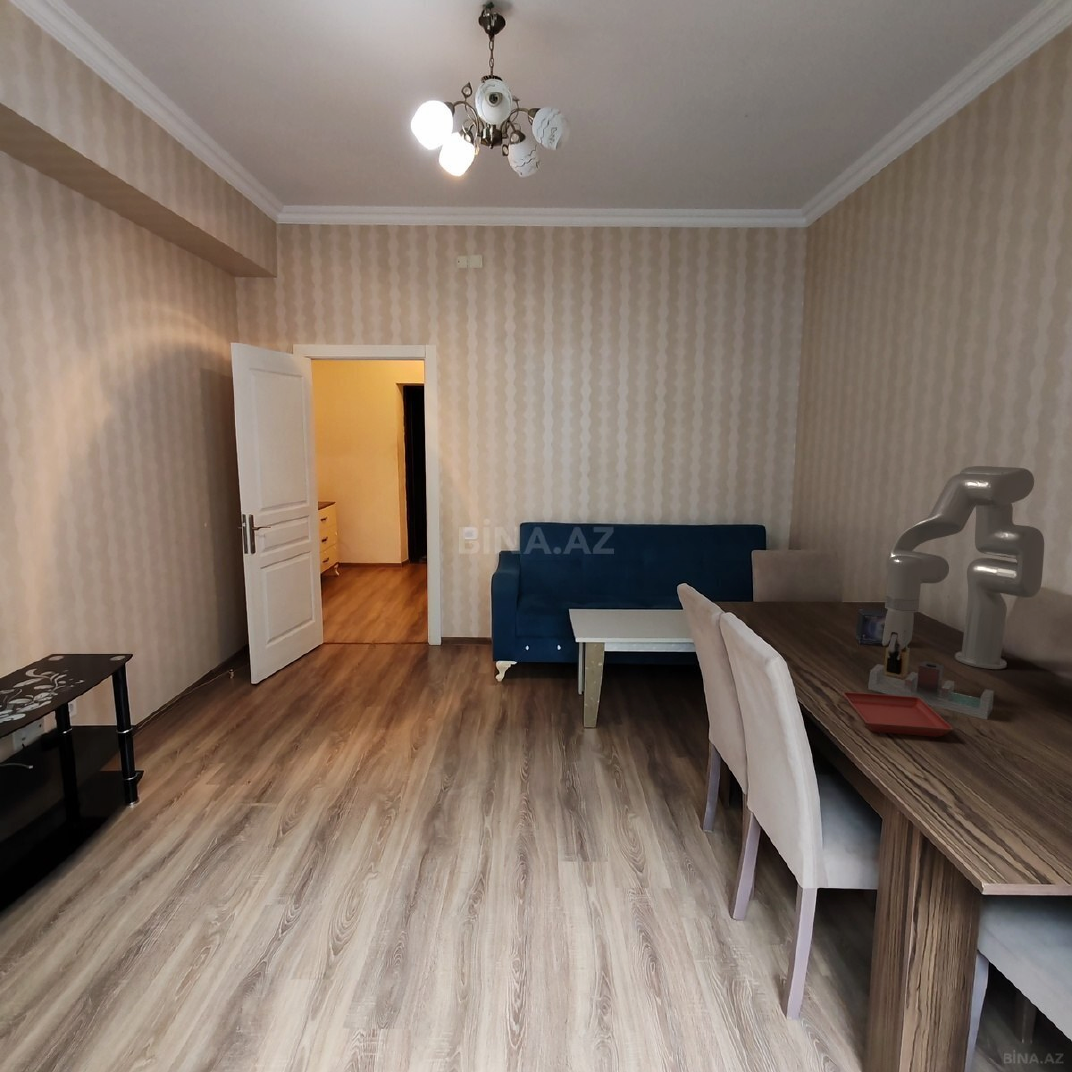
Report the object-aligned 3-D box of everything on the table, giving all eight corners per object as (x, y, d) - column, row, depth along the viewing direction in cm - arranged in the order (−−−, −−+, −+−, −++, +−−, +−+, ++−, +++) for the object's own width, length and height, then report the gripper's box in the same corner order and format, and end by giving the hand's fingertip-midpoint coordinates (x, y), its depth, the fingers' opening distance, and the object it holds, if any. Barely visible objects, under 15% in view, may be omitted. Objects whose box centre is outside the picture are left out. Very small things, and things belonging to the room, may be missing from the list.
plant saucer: (840, 703, 157) (841, 690, 156) (917, 708, 154) (919, 696, 153) (865, 736, 139) (866, 722, 139) (953, 743, 136) (954, 729, 136)
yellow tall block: (888, 669, 167) (890, 643, 166) (907, 673, 164) (909, 647, 162) (883, 673, 164) (886, 647, 162) (903, 678, 160) (905, 651, 159)
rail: (876, 680, 170) (878, 663, 170) (992, 709, 153) (994, 690, 152) (867, 689, 165) (869, 671, 164) (986, 719, 147) (989, 699, 146)
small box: (859, 645, 200) (862, 614, 199) (854, 639, 206) (857, 608, 205) (895, 648, 198) (899, 616, 196) (889, 641, 204) (892, 611, 202)
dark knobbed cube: (920, 686, 161) (923, 660, 160) (940, 691, 158) (943, 664, 157) (916, 691, 158) (919, 664, 157) (936, 696, 155) (939, 669, 154)
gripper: (894, 594, 169) (889, 658, 172) (876, 607, 157) (870, 675, 160) (926, 599, 164) (920, 664, 167) (909, 613, 152) (903, 683, 155)
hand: (896, 669), depth 163 cm, fingers closed on yellow tall block, 4 cm apart
